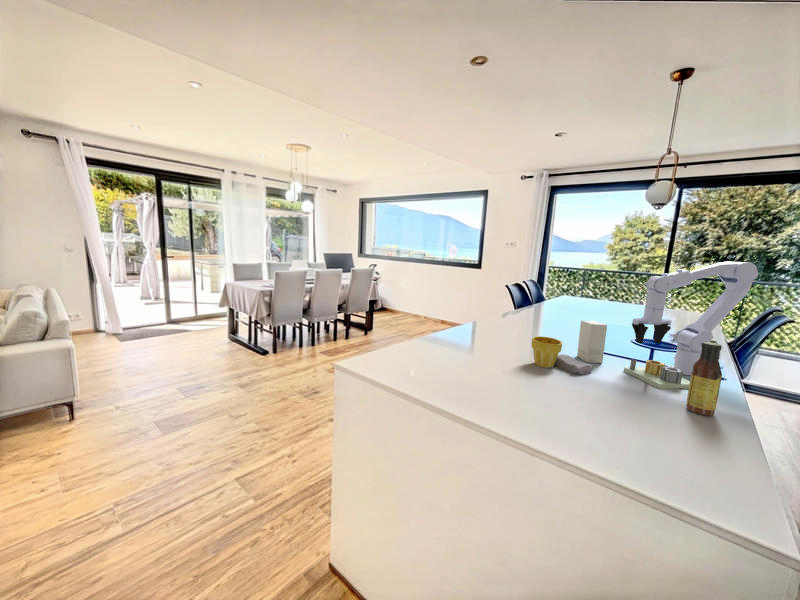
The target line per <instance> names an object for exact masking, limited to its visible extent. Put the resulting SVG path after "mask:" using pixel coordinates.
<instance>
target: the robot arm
mask: <svg viewBox="0 0 800 600" xmlns="http://www.w3.org/2000/svg"><path fill="white" fill-rule="evenodd" d="M713 276H718V277H719V278H720V280H721V282H722V283H723V284H724V287H725V290H723V292H722V293H720V295H719V296H718V298H716V299H715V300H714V301H713V303H711V305H710V306H709V307H708V308H706V310H705V312H703V313H702V315H700V317H699V318H698V319H697V320H696V321H695V322H693V323H690V324H686V325H685V327H683V328H681V329H680V330H678V331H677V332H676V333H675V335H674V340H675V343H677V344H676V346H677V347H676V352H675V358H674V363H673V366H671V365H670V366H669V365H667V366H666V367H674V368H676V369H680V370H681V371H683V375H685V376H691V373H692V370H693V365H694V363H695V362H696V361H698V360H699V358H700V355H701V351H702V347H701V345H702V342H711V341H712V340H713V339H714V335H713V332H712V331H713V330H715V329H716V327H717V326H718V325H719V324H720V323H721V322H722V321H723V320H724V319H725V318H726V317H727V315H729V314H730V312H731V311H733V309H734V308H735V307H736V306H737V305H738V304H739V303H740V302H741V301H742V300H743V299H744V298H745V297H747V295H748V293H749V292H750V290H751V287H752V284H753V282H754V281H755V280H756V279H757V277H758V276H759V272H758V268H757V265H756V264H754V263H753V262H750V261H744V262H743V261H742V262H741V261H732V260H731V261H730V260H726V261H723V262H721V261H720V262H717V263H714V264H710V265H707V266H704V267H701V268H696V269H694V270H687V269H683V268H679V269H676V270H675V271H674V272H669V273H662V274H661V276H658V275H652V276H650V277H649V278H648V279H647V282H645V284H644V285H645V288H646V289H647V295H646V299H645V305H644V312H643V317H642V316H641V317H640V318H632V322H631V326H632V329H633V331H634V334H635V342H636V343H637V344H641V345H642V344H643V343H644V339H645V335H646V333H647V330H648V329H649V327H648V326H646V325H652V326H653V329H654V335H653V343H655V344H657V345H658V344H659V345H660V344H661V342H662V341H663V339H664V337H665V336H666V335H667V333H668V332H669V331H670V330H671V329H672V327H671V325H672V320H670V319H665V318H663V316H664V310H665V305H666V300H667V294H668V292H670V291H671V290H673V289H676V288H680V287H685V286H688V285H691V284H692V283H693V281H695V280H699V279H704V278H710V277H713Z"/></svg>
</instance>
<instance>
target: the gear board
mask: <svg viewBox="0 0 800 600" xmlns="http://www.w3.org/2000/svg"><path fill="white" fill-rule="evenodd" d="M636 365H637V359H633V358H631V359H630V365H629V366H628V367H624V368H623V372H624V371H625V372H624V373H626V372H627V373H626V374H628V373H629V374H628V375H630V374H631V376H632V375H633V377H634V376H635V378H636V377H637V378H636V379H638V378H639V380H640V379H641V381H642V380H643V381H642V382H644V381H645V383H647V384H649V385H650V386H652V387H655V388H656V389H659V388H660V389H661V388H662V389H664V390H665V389H667V390H669V389H670V390H671V389H673V388H677V389H678V388H684V389H689V385H690V380H688V379H686V378H683V377H682V380H681V383H679V384H676V383H669V382H667V381H663V380H662V379H660V376H661V375H658V376H656V375H653V374H649V373H647V372H645V367H637V366H636ZM669 370H673V371H675V370H676V368H674V367H670V369H669Z"/></svg>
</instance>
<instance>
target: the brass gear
mask: <svg viewBox="0 0 800 600" xmlns="http://www.w3.org/2000/svg"><path fill="white" fill-rule="evenodd" d="M645 361H646V362H645V367H644V368H645V372H647V373H649V374H653V375H656V376H658V375H661V371H662V367H664V366H666V363H665V362H662V361H659V360H654V359H650V360H649V359H646V360H645Z"/></svg>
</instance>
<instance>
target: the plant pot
mask: <svg viewBox="0 0 800 600" xmlns="http://www.w3.org/2000/svg"><path fill="white" fill-rule="evenodd" d="M531 348H532V349H533V350H532V351H533V360H534V364H535V365H536V366H537V367H540V368H546V369H552V368H553V367H554V364H555V361H556V359H557V356H558V355H559V353H561V351H562V348H563V342H562V341H561V340H559V339H558V338H554V337H549V336H542V335H541V336H533V337H532V338H531Z"/></svg>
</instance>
